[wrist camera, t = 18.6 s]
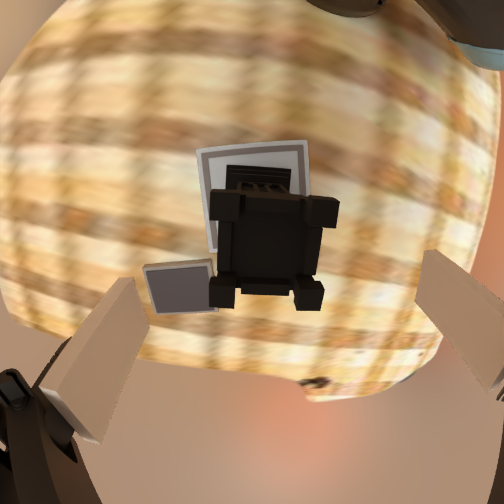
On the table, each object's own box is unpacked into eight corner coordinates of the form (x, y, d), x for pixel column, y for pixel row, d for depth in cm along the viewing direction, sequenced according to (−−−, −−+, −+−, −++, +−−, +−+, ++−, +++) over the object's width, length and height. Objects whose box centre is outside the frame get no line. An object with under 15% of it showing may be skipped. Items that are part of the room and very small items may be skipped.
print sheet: (196, 149, 32) (195, 149, 32) (306, 139, 32) (307, 139, 32) (209, 252, 37) (209, 253, 37) (311, 242, 37) (312, 244, 37)
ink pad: (144, 264, 38) (141, 268, 36) (210, 258, 38) (209, 263, 36) (157, 310, 41) (154, 315, 39) (218, 307, 41) (218, 312, 39)
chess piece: (224, 225, 36) (202, 312, 17) (226, 164, 33) (202, 184, 14) (284, 228, 36) (324, 315, 17) (290, 168, 33) (347, 195, 14)
